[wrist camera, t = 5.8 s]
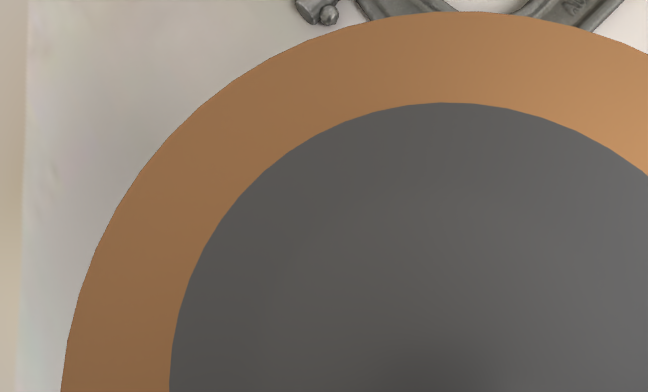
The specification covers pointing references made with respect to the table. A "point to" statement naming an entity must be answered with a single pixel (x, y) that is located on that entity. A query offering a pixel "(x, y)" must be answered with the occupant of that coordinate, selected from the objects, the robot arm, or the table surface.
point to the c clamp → (544, 3)
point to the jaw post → (388, 222)
